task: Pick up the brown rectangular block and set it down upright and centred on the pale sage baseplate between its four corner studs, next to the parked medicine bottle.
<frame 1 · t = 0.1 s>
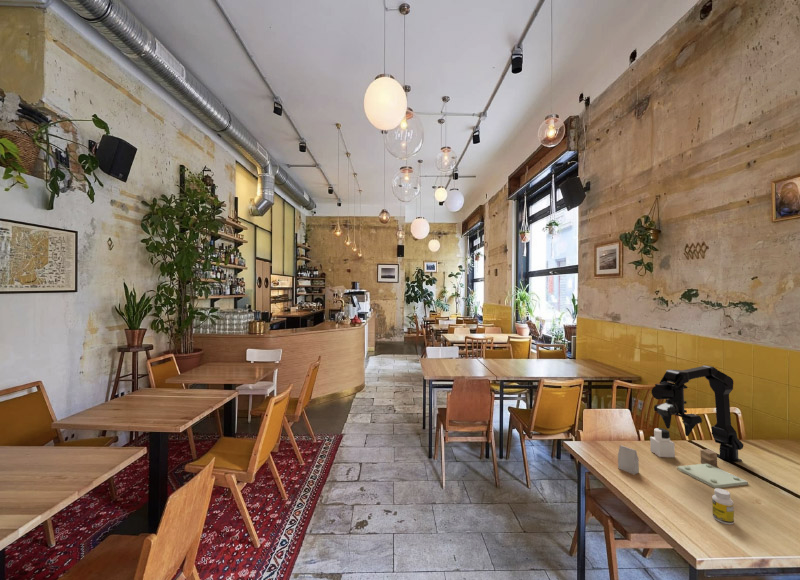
hand: (677, 432, 160), 15 cm above the table, fingers open, 9 cm apart
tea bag: (628, 470, 154), on the table
supplement bottle: (723, 520, 119), on the table
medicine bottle: (662, 454, 169), on the table
baseplate: (711, 476, 148), on the table
brown rectangular block: (709, 464, 158), on the table
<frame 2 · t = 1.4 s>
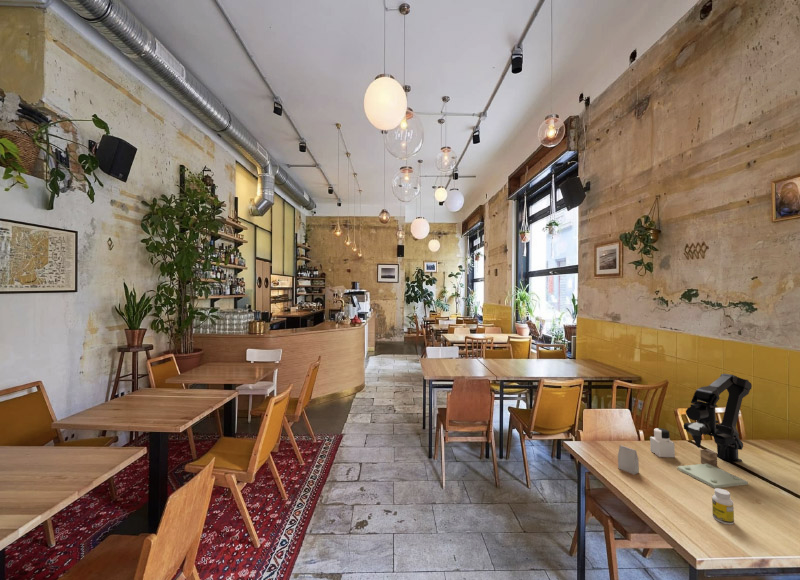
hand: (708, 451, 158), 6 cm above the table, fingers open, 9 cm apart
nothing on the table moved.
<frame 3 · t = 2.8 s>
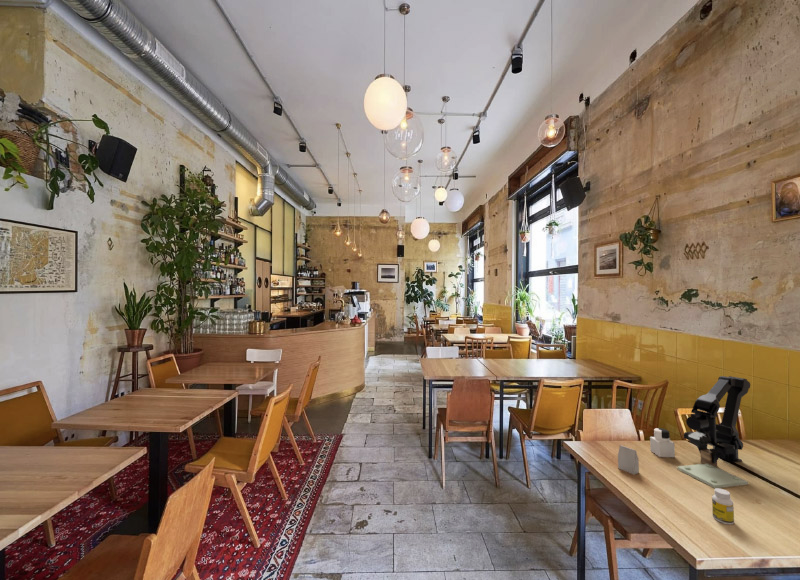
hand: (708, 461, 158), 2 cm above the table, fingers closed on brown rectangular block, 4 cm apart
brown rectangular block: (709, 464, 158), on the table, touching gripper
everything else where it was.
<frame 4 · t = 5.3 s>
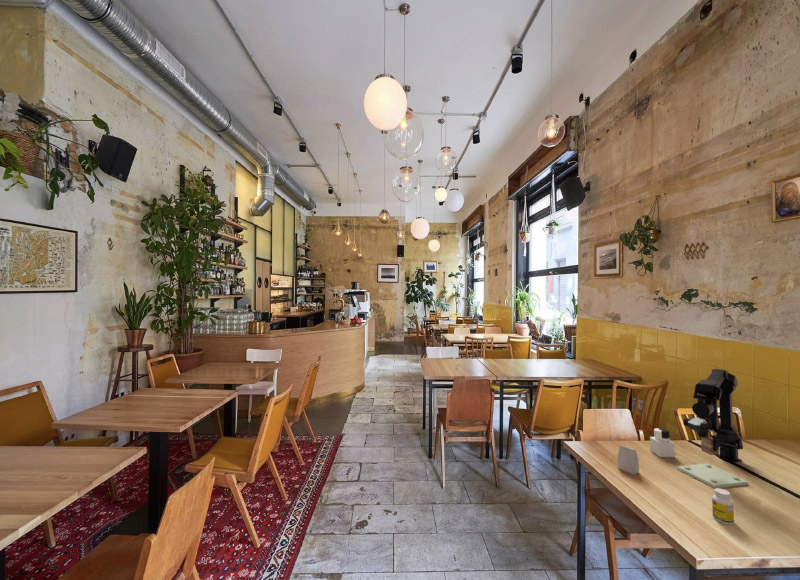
hand: (710, 448, 148), 12 cm above the table, fingers closed on brown rectangular block, 4 cm apart
brown rectangular block: (710, 452, 148), point 10 cm above the table, touching gripper
everything else where it was.
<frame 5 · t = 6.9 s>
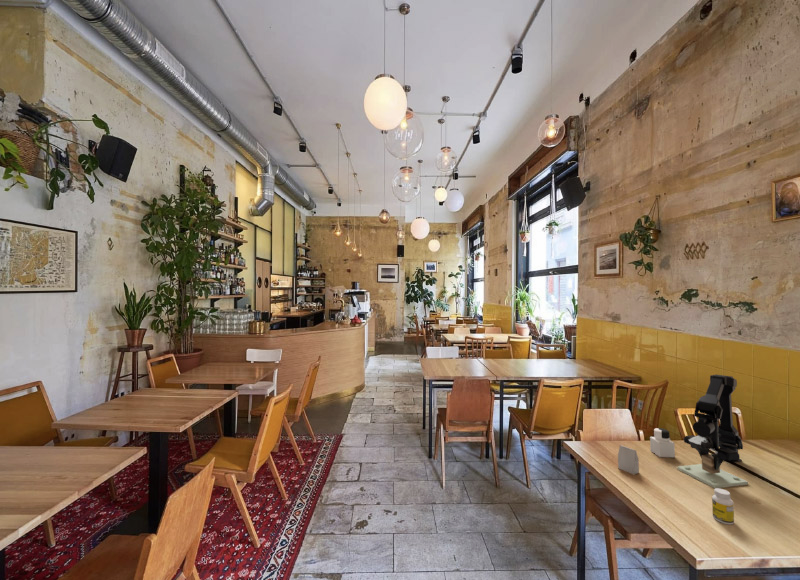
hand: (710, 467, 148), 4 cm above the table, fingers closed on brown rectangular block, 4 cm apart
brown rectangular block: (710, 470, 148), point 2 cm above the table, touching gripper
everything else where it was.
when the fingers open (3 cm above the table, at t = 7.8 s): brown rectangular block stays where it is, resting on baseplate.
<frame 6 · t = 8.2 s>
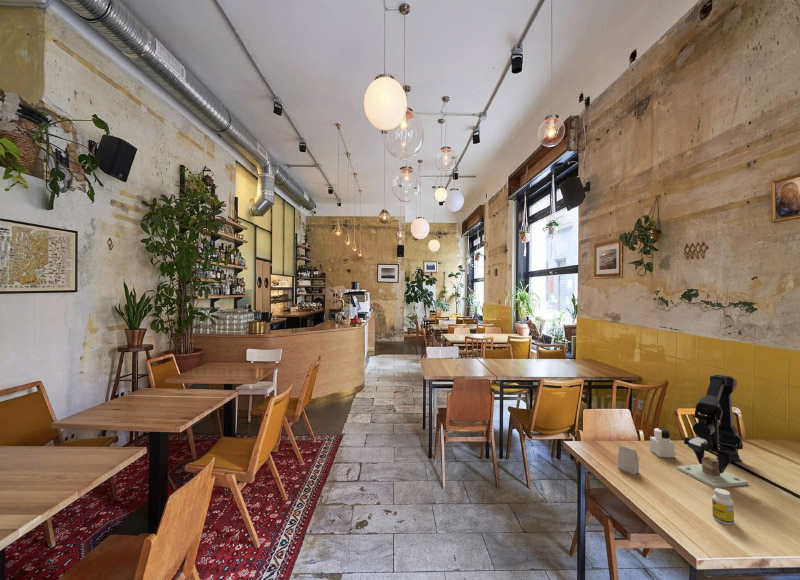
hand: (710, 468, 148), 3 cm above the table, fingers open, 8 cm apart
brown rectangular block: (711, 473, 148), point 1 cm above the table, touching baseplate
everything else where it was.
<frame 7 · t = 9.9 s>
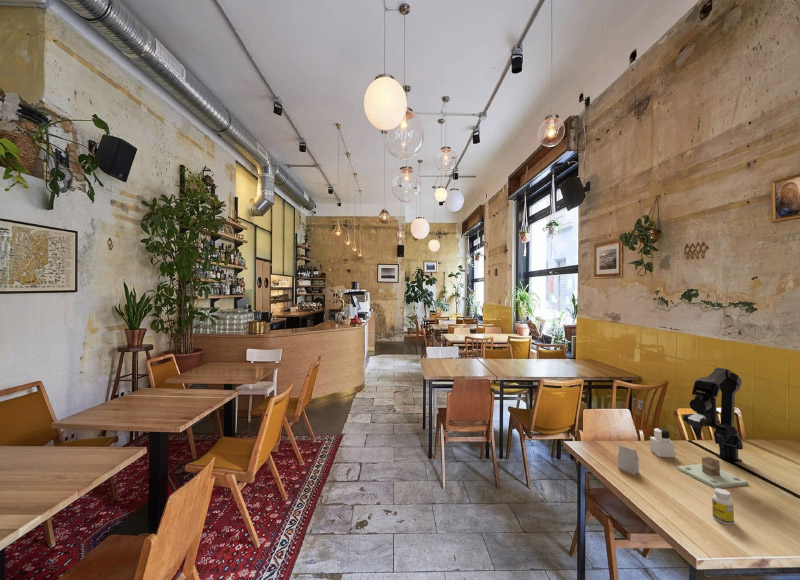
hand: (709, 443, 153), 12 cm above the table, fingers open, 9 cm apart
nothing on the table moved.
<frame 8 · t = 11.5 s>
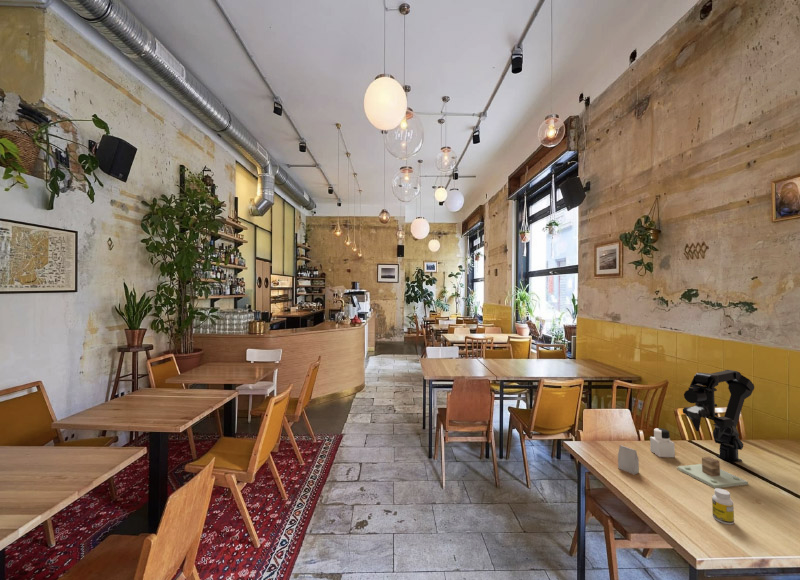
hand: (707, 434, 160), 13 cm above the table, fingers open, 9 cm apart
nothing on the table moved.
at the end: brown rectangular block 0.1 cm off-centre on the baseplate, point 1.2 cm above the baseplate's base; brown rectangular block tilted 0°; the gripper is holding nothing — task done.
